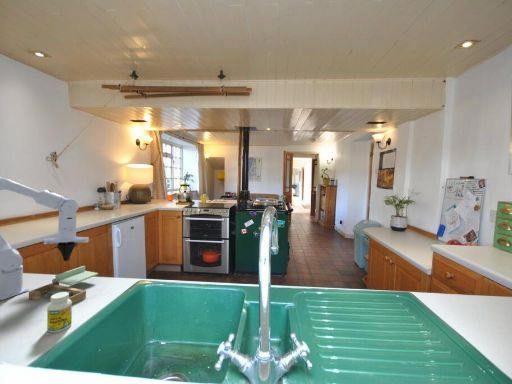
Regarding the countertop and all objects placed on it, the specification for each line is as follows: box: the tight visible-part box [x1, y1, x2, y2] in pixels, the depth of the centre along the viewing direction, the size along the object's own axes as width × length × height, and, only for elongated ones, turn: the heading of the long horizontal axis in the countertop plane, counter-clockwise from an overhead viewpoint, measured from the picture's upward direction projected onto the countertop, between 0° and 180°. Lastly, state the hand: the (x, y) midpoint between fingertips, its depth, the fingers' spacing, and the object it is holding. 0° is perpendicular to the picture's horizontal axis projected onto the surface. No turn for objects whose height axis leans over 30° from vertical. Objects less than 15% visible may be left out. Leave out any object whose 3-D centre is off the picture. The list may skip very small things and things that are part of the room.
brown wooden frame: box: [28, 282, 87, 305], centre depth 83 cm, size 17×8×3 cm, turn 75°
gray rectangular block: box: [45, 290, 72, 300], centre depth 83 cm, size 8×2×2 cm, turn 84°
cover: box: [51, 265, 99, 286], centre depth 92 cm, size 12×9×3 cm
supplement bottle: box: [46, 292, 73, 334], centre depth 67 cm, size 5×5×10 cm
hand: (66, 260), depth 97 cm, fingers closed
